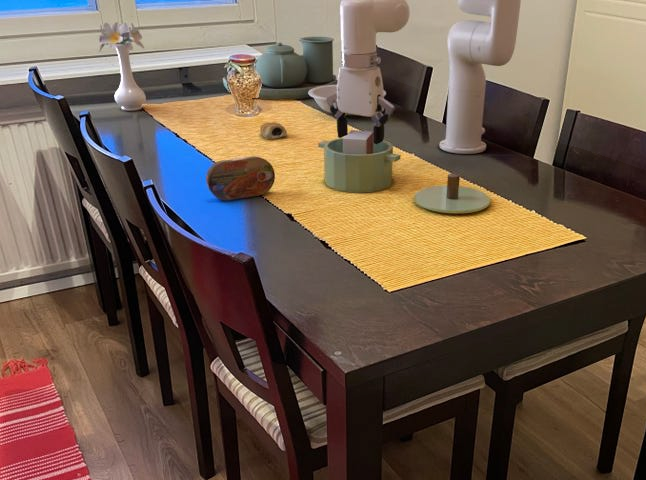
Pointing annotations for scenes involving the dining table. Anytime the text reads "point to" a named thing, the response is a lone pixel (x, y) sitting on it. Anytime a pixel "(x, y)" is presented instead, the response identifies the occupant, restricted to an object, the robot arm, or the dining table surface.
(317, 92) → the soup bowl
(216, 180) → the tin
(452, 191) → the pot lid
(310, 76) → the tea set
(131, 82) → the flower vase
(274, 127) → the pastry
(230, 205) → the dining table surface
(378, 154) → the casserole
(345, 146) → the small box
